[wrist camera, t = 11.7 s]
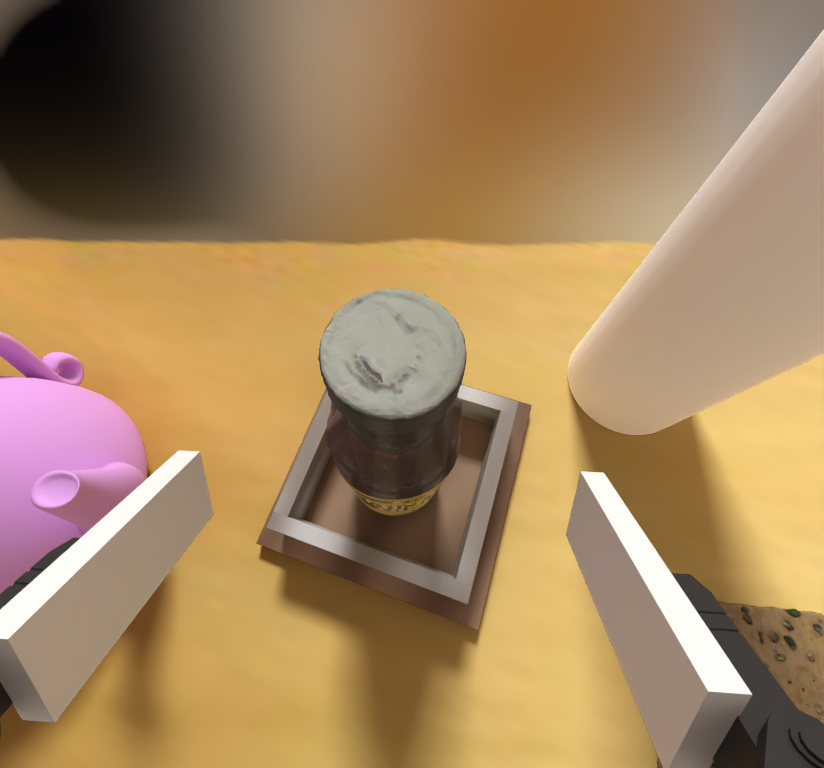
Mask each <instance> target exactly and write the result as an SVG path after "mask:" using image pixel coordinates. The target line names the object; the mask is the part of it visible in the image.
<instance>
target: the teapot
mask: <svg viewBox="0 0 824 768" xmlns="http://www.w3.org/2000/svg"><path fill="white" fill-rule="evenodd" d="M0 356H1V357H3V358H4V359H5V360H7V361H8V362H9V363H10V364H11V365H13V366H14V367H15V368H16V369H17V370H19V371H20V372H21V373H22V374H24V375H25V376H26V377H7V376H0V594H1V593H2V592H3V591H4V590H5V589H6V588H8V587H9V586H13V584H14V582H15V581H16V580H17V579H18V578H19V577H21V576H22V575H23V574H24V573H25V572H26V571H27V572H29V571H30V568H31V567H32V566H33V565H35V564H36V563H37V562H38V561H39V560H40V559H42V558H43V557H44V556H45V555H46V554H47V553H49V552H50V551H51V550H53V549H55V548H56V547H58V546H60V545H62V544H63V543H65V542H67V541H68V540H70V539H72V538H74V537H76V538H81V537H82V536H83V535H84V534H86V533H87V532H88V531H89V530H90V529H91V528H92V527H93V526H95V525H96V524H97V523H98V522H99V521H100V520H101V519H102V518H104V517H105V516H106V515H107V514H108V513H109V512H110V511H111V510H113V509H114V508H115V507H116V506H117V505H118V504H119V503H120V502H122V501H123V500H124V499H125V498H126V497H127V496H128V495H129V494H130V493H132V492H133V491H134V490H135V489H136V488H137V487H138V486H139V485H141V484H142V483H143V482H144V481H145V480H146V479H147V473H148V471H147V457H146V452H145V447H144V444H143V441H142V438H141V436H140V433H139V431H138V430H137V428H136V426H135V425H134V423H133V421H132V420H131V419H130V417H129V416H128V415H127V414H126V413H125V412H124V410H123V409H122V408H120V407H119V406H118V405H117V404H116V403H114V402H113V401H111V400H110V399H108V398H106V397H104V396H103V395H100V394H98V393H95V392H93V391H90V390H87V389H85V388H82V387H79V385H80V384H81V382H82V380H83V377H84V368H83V365H82V363H81V361H80V360H79V359H77V358H76V357H74V356H72V355H70V354H67V353H63V352H53V353H49V354H47V355H46V356H44V357H43V359H42V360H41V359H40V358H38V357H37V356H36V355H35V354H34V353H33V352H32V351H30V350H29V349H28V348H27V347H25V346H24V345H23V344H21V343H20V342H18V341H17V340H15V339H14V338H12V337H10V336H9V335H7V334H4V333H2V332H0ZM58 368H59V372H58V374H56V373H57V371H58Z"/></svg>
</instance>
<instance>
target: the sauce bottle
mask: <svg viewBox="0 0 824 768" xmlns="http://www.w3.org/2000/svg"><path fill="white" fill-rule="evenodd" d="M318 359H319V361H320V370H321V375H322V377H323V380H324V383H325V386H326V388H327V391H328V396H329V397H330V399H331V410H330V414H329V416H328V420H327V429H326V431H325V440H326V443H327V445H328V447H329V449H330V451H331V453H332V455H333V457H334V461H335V464H336V466H337V469H338V471H339V472H340V474H341V476H342V477H343V478H344V480H345V481H346V482H347V484H348V485H349V486H350V487H351V489H352V490H353V491H354V492H355V493H356V495H357V496H358V497H359V498H360V500H361V501H362V502H363V503H364V504H365V505H366V506H367V507H369V508H370V509H371V510H373V511H375V512H378V513H380V514H384V515H389V516H401V515H406V514H410V513H412V512H414V511H417V510H419V509H420V508H421V507H423V506H424V505H425V504H427V502H428V501H429V500H430V499H431V498H432V496H433V495H434V494H435V492H436V491H437V490H438V488H439V487H440V486H441V484H442V483H443V481H444V480H445V479H446V478H447V476H448V475H449V473H450V472H451V470H452V469H453V467H454V465H455V463H456V460H457V457H458V454H459V447H460V432H461V416H462V402H461V400H460V399H459V398H458V397H457V395H458V392H459V389H460V386H461V384H462V379H463V375H464V370H465V365H466V348H465V339H464V335H463V333H462V331H461V330H460V327H459V325H458V323H457V322H456V320H455V319H454V317H453V316H452V315H451V314H450V313H449V312H448V311H447V310H446V309H445V308H444V307H443V306H441V305H440V304H439V303H437V302H435V301H434V300H431V299H429V298H428V297H427V296H426V295H424V294H419V293H416V292H413V291H409V290H402V289H383V290H379V291H375V292H372V293H370V294H366V295H362V296H359V297H356V298H354V299H352V300H351V301H350V302H348V303H347V304H345V305H344V306H343V307H342V308H341V309H340V310H338V311H337V313H336V314H335V315H334V316H333V318H332V320H331V321H330V323H329V324H328V326H327V327H326V329H325V332H324V335H323V337H322V339H321V342H320V349H319V358H318Z"/></svg>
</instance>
